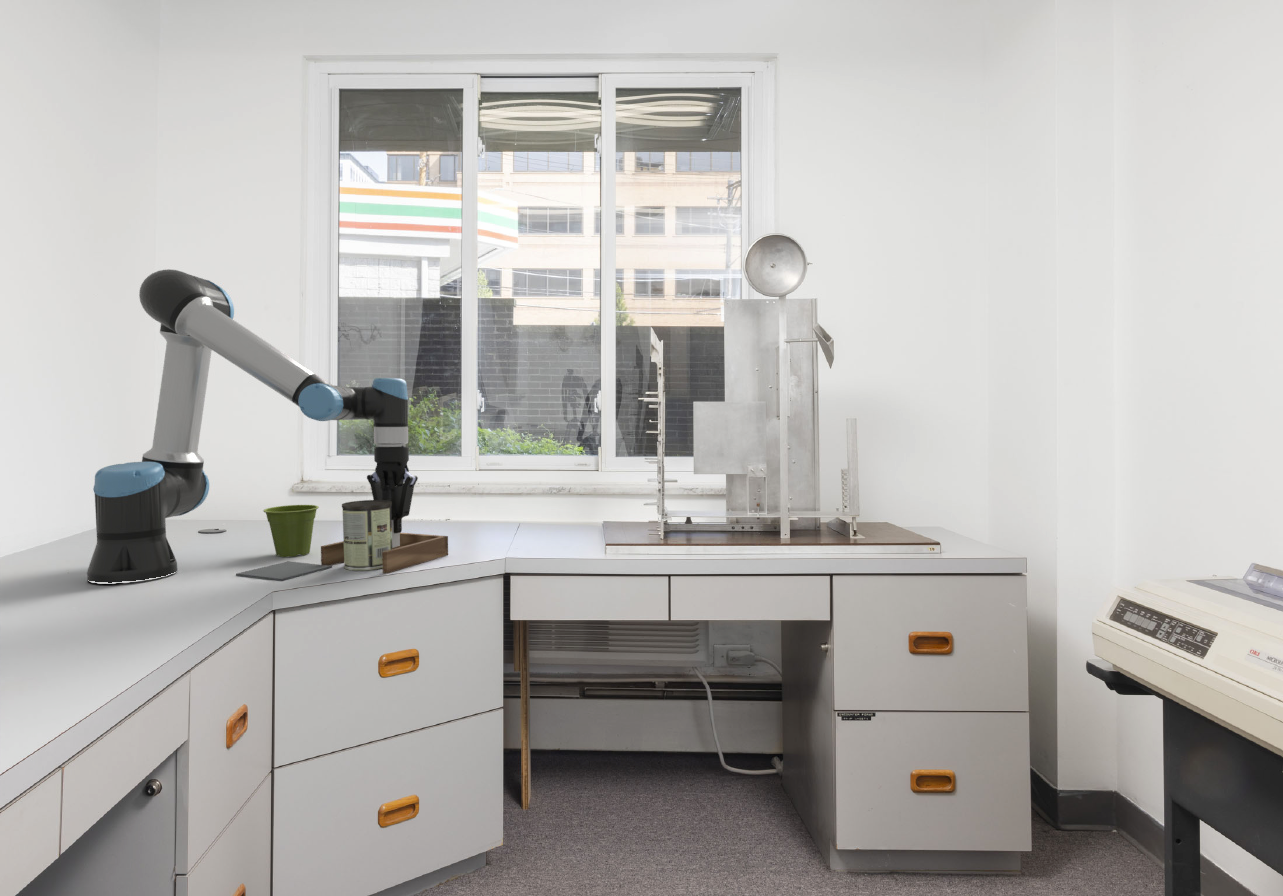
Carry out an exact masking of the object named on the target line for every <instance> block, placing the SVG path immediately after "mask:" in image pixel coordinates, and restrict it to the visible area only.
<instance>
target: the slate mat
mask: <svg viewBox="0 0 1283 896" xmlns="http://www.w3.org/2000/svg"><path fill="white" fill-rule="evenodd" d="M332 568H333V565H331V566H329V565H321V564H318V563H307V562H298V561H297V562H296V561H288V560H287V561H283V562H280V563H279V562H278V563H276V564H271V565H270V564H269V565H267V566H262V567H258V568H253V569H250V570H245V571H241V572H237V573H235V576H238V577H245V578H254V579H263V580H272V581H278V582H283V581H287V580H291V579H295V578H298V577H301V576H305V575H309V574H313V573H317V572H321V571H324V570H329V569H332Z"/></svg>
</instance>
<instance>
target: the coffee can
mask: <svg viewBox="0 0 1283 896" xmlns="http://www.w3.org/2000/svg"><path fill="white" fill-rule="evenodd" d="M391 505H392V502H391V501H388V500H373V499H368V500H365V499H363V500H355V501H353V500H352V501H348V502H344V503H342V504H341V508H342V528H343V529H342V532H343V533H342V534H343V541H344V562H343V564H344V566H343V568H344V569H345V570H348V571H355V572H356V571H358V572H359V571H375V570H379V569H383V558H382V552H384V551H387V550H391V549H392V521H391Z"/></svg>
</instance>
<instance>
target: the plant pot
mask: <svg viewBox="0 0 1283 896" xmlns="http://www.w3.org/2000/svg"><path fill="white" fill-rule="evenodd" d="M318 509H319V505H315V504H289V505H287V504H286V505H279V506H272V507H268V508H265V509H263V510H262V511H263V512H264V513H265V514H266V518H267V522H268V524H269V528H270V533H271V535H272V541H273V546H274V551H275V555H276V556H278V557H281V558H295V557H297V556H300V555H301V556H305V555H308V554H309V553H310V552H311V544H312V537H313V530H314V524H315V519H316V514H317V510H318Z"/></svg>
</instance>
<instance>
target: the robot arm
mask: <svg viewBox="0 0 1283 896" xmlns="http://www.w3.org/2000/svg"><path fill="white" fill-rule="evenodd" d="M139 302H140V304H141V307H142V308H143V310H144V312H146V314H147V315H148V316H149V317H151V318H152V320H155V321H157V323H160V328H159V333H160V335H161V336H162V337H163V338H164V339H165V341H166V346H165V352H164V360H163V367H162V368H163V369H162V375H161V381H160V389H159V395H158V404H157V410H156V419H155V424H154V425H155V426H154V433H153V439H152V446H151V448H150V449H148V450H147V451H146V452H145V453H142V457H141V461H132V462H125V463H116V464H112V465H108V466H105V467H102V468H100V469H99V470H97V471H96V472H95V475H94V484H93V493H94V508H95V525H96V527H95V528H96V544H95V547H94V550H93V554H92V557H91V559H90V562H89V565H88V568H87V572H86V573H87V574H86V575H87V581H88V580H89V581H95V582H108V583H112V582H122V581H136V580H145V579H149V578H156V577H161V576H166V575H168V574H171V573H174V572H176V571H177V572H178V562H177V558H176V556H175V554H174V551H173V549H172V548H171V546H170V545H171V544H170V543H169V541H168V539H167V534H166V533H167V531H166V530H167V529H166V526H167V525H166V519H168V518H173V517H178V516H183V515H185V514H188V513H190V512H192V511H194V510H195V509H198V507H200V506H201V505H202V504H203V503H204V502H205V501H206V499H207V497H208V495H209V492H210V481H209V480H210V479H209V477H208V475H206V473H205V471H204V461H205V460H204V458H203V457H202V456H201V455H200V454H199V452H198V450H199V445H200V444H199V443H200V436H201V435H200V434H201V428H202V421H203V414H204V413H203V412H204V407H205V399H206V394H207V393H206V392H207V387H208V386H207V385H208V378H209V371H210V364H211V358H212V357H211V356H212V351H213V352H214V353H216V354H218V355H219V356H220V357H222V358H224V359H225V360H227V361H228V362H230V363H232V364H233V365H235V366H236V367H238V368H239V369H241V370H242V371H243V372H245V373H247V374H248V375H250V376H252V377H254V378H255V379H256V380H258V381H259V382H260V383H262V384H264V385H266V386H267V387H268V388H270V389H272V390H273V391H275V392H276V393H278V394H279V395H281V396H282V397H284V398H285V399H287V400H288V401H290V402H292V403H293V404H295V405H296V406H298V407H299V409H300V411H301V412H302V413H303V415H304V416H306V417H307V418H309V419H311V420H314V421H318V422H328V421H329V422H330V421H346V420H347V421H348V420H349V421H350V420H351V421H352V420H354V421H355V420H358V421H359V420H367V421H368V420H371V421H372V420H373V421H372V422H373V444H374V445H376V446H374V447H373V449H374V451H373V454H374V455H373V456H374V462H375V463H376V465H375V470H374V472H373V473H371V474H368V475H366V480H367V481H368V484H369V486H370V490H371V494H372V500H388V501H391V502H392V505H391V521H392V548H394V547H398V546H400V533H402V530H403V528H402V527H403V526H402V525H403V523H402V522H403V518H406V517H407V516H409V515H410V511H411V506H412V505H411V504H412V500H413V494H414V489H415V485H416V483H417V482H418V479H419V477H418V476H417V475H412V473H410V472H409V471H410V470H409V467H408V461H410V460H409V459H410V451H409V450H410V448H409V446H408V445H407V444H408V443H409V412H408V411H409V397H408V386H407V385H408V384H407V381H406V380H405V379H404V378H394V377H381V378H380V377H378V378H374V379H373V380H372V384H371V386H365V387H364V386H363V387H361V386H342V385H333V384H331V383H330V382H328V381H326V380H325V379H324V378H322V377H321V376H319V375H318V374H316V373H315V372H313V371H311V370H310V369H308V368H307V367H305V366H304V365H302V364H301V363H299V362H298V361H296V360H295V359H294V358H292V357H290V356H289V355H288V354H286V353H284V352H283V351H281V350H280V349H278V348H277V347H276V346H274V345H272V344H271V343H269V342H267V340H265V339H263V338H262V337H260V336H258V335H257V333H256V334H255V333H254V332H252V331H251V330H250V329H248V328H246V327H245V326H243V325H242V324H241V323H239V322H237V320H235V319H234V317H235V308H234V307H235V306H234V303H233V301H232V298H231V296H230V294H229V293H227V291H226V290H225V289H223V288H222V287H221V286H219V285H218V284H215V283H214V282H212V281H211V280H208V279H204V278H202V277H199V276H195V275H192V274H189V273H187V272H184V271H180V270H178V269H162V270H157V271H155V272H152V273H151V274H149V275H148V276H147V277H145V279H143V282H142V283H141V285H140V287H139ZM177 572H176V573H177Z"/></svg>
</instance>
